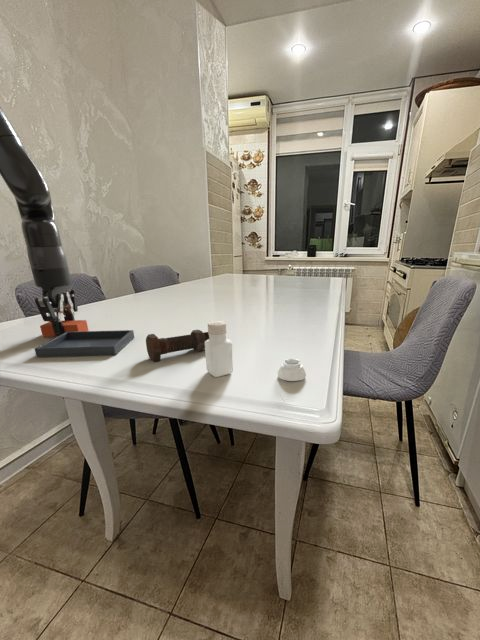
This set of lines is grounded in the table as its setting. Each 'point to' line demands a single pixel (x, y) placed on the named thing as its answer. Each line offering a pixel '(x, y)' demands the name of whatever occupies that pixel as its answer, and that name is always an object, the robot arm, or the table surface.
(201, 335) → the bolt
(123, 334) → the tray
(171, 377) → the table surface
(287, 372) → the lidless jar
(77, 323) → the pad
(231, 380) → the table surface
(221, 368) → the white square bottle
